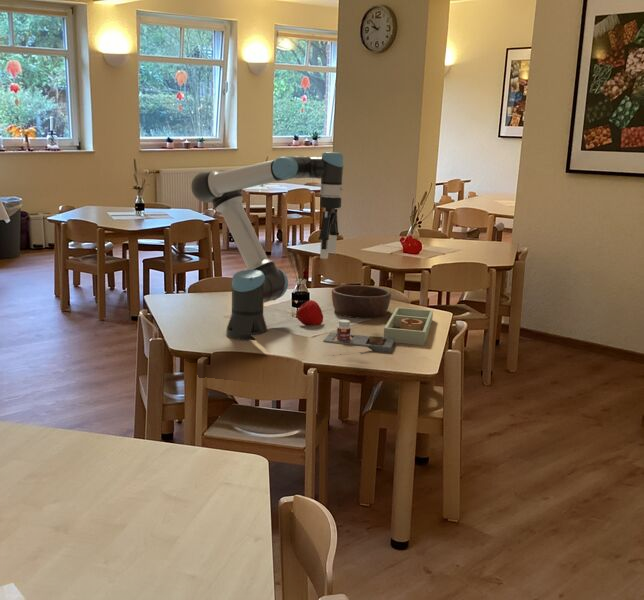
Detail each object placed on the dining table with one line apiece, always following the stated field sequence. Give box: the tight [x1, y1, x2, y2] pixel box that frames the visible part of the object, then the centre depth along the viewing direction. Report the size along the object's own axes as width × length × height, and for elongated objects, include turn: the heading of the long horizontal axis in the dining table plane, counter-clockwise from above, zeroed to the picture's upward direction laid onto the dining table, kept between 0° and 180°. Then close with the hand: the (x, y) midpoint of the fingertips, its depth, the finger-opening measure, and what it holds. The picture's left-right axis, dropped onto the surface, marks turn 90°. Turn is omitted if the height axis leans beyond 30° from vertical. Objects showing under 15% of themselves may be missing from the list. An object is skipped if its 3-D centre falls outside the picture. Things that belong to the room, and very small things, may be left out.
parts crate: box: [383, 306, 434, 346], centre depth 292 cm, size 15×37×5 cm, turn 167°
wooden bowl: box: [331, 284, 392, 319], centre depth 316 cm, size 25×25×10 cm
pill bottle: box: [336, 319, 352, 342], centre depth 270 cm, size 5×5×8 cm
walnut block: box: [369, 332, 384, 346], centre depth 268 cm, size 4×4×4 cm
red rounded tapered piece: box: [296, 299, 324, 327], centre depth 289 cm, size 10×10×11 cm
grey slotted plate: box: [323, 332, 396, 354], centre depth 269 cm, size 24×12×2 cm, turn 77°
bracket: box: [399, 318, 423, 331], centre depth 296 cm, size 18×8×7 cm, turn 168°
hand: (328, 255), depth 271 cm, fingers open, 13 cm apart
